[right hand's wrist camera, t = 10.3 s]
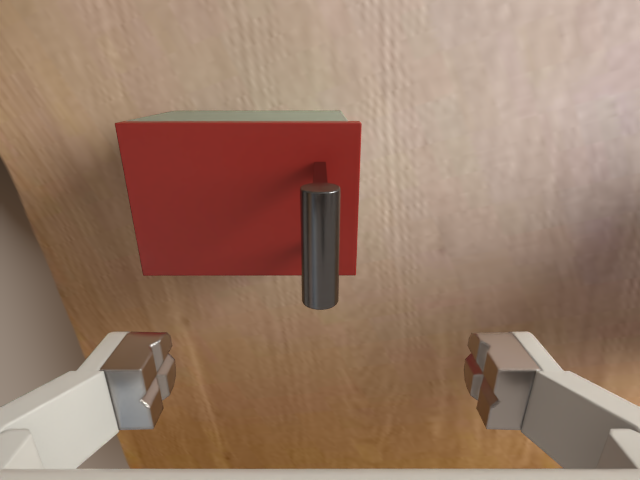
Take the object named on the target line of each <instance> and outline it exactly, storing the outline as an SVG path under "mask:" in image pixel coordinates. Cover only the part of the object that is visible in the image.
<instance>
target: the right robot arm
mask: <svg viewBox="0 0 640 480" xmlns="http://www.w3.org/2000/svg"><path fill="white" fill-rule="evenodd" d="M171 347H172V341H171V337H170V335H169V334H168V333H167V332H111V333H108V334H107V335H106V336H105V338H104V339H103V340H102V341H101V342H100V343H99V345H98V346H97V347H96V348H95V349H94V351H93V352H92V353H91V354H90V355H89V356H88V358H87V359H86V360H85V361H84V362H83V364H82V365H81V366H80V367H79V368H78V369H77V371H69V372H67V373H65V374H63V375H61V376H59V377H57V378H56V379H54V380H52V381H50V382H48V383H46V384H44V385H42V386H40V387H38V388H36V389H34V390H32V391H30V392H28V393H26V394H25V395H23V396H21V397H19V398H17V399H15V400H13V401H11V402H9V403H7V404H5V405H3V406H1V407H0V480H640V407H639V406H637V405H635V404H633V403H631V402H629V401H627V400H625V399H623V398H621V397H619V396H617V395H615V394H613V393H611V392H610V391H608V390H606V389H604V388H602V387H600V386H598V385H596V384H594V383H592V382H590V381H588V380H586V379H584V378H582V377H581V376H579V375H577V374H575V373H573V372H571V371H563V369H562V368H561V367H560V366H559V365H558V364H557V362H556V361H555V360H554V359H553V358H552V356H551V355H550V354H549V353H548V352H547V351H546V349H545V348H544V347H543V346H542V345H541V344H540V342H539V341H538V340H537V339H536V338H535V336H534V335H533V334H532V333H530V332H528V331H525V332H506V333H471V335H470V337H469V341H468V347H469V349H470V351H471V354H470V355H469V356H468V357H467V358H466V359H465V365H464V377H465V383H466V386H467V389H468V391H469V393H470V395H471V396H472V397H474V398H475V399H476V400H478V403H477V410H478V412H479V414H480V416H481V418H482V421H483V423H484V425H485V427H486V429H504V430H521V432H522V433H523V434H524V435H525V436H527V437H528V438H529V439H530V440H531V441H532V442H534V443H535V444H536V445H537V446H538V447H539V448H541V449H542V450H543V451H544V452H545V453H546V454H548V455H549V456H550V457H551V458H552V459H554V460H555V461H556V462H557V463H558V464H559V465H561V466H562V467H563V468H564V469H76V468H77V467H78V466H80V465H81V464H82V463H83V462H84V461H85V460H87V459H88V458H89V457H90V456H91V455H92V454H94V453H95V452H96V451H97V450H98V449H99V448H101V447H102V446H103V445H104V444H105V443H107V442H108V441H109V440H110V439H111V438H112V437H114V436H115V435H116V434H117V433H118V432H119V430H136V429H154V427H155V425H156V423H157V421H158V419H159V416H160V414H161V412H162V410H163V403H162V400H164V399H165V398H166V397H168V396H169V395H170V393H171V391H172V389H173V387H174V382H175V377H176V364H175V359H174V358H173V357H172V356H171V355H170V354H169V351H170V349H171Z"/></svg>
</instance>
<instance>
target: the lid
mask: <svg viewBox="0 0 640 480" xmlns="http://www.w3.org/2000/svg"><path fill="white" fill-rule="evenodd" d="M361 125H362V124H361V122H360V121H123V122H118V123H115V127H116V132H117V138H118V143H119V148H120V154H121V159H122V164H123V170H124V175H125V180H126V186H127V191H128V197H129V202H130V207H131V213H132V218H133V223H134V229H135V234H136V239H137V245H138V250H139V255H140V261H141V266H142V271H143V275H144V276H150V275H302V302H303V304H304V305H305V306H307V307H309V308H312V309H317V310H323V309H329V308H332V307H334V306H335V305H336V304H337V303H338V294H339V275H356V258H357V231H358V205H359V178H360V151H361Z"/></svg>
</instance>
